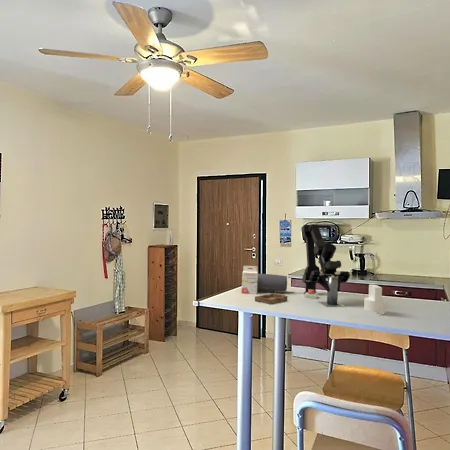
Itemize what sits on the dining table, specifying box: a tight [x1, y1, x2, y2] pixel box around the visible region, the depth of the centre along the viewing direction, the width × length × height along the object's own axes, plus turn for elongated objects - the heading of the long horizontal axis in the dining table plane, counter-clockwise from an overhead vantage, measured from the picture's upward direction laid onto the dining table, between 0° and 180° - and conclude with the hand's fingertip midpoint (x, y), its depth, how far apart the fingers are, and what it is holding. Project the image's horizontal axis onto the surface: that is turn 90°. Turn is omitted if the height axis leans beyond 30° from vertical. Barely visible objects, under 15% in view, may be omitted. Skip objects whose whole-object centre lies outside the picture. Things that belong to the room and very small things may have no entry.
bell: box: [326, 276, 339, 305], centre depth 192 cm, size 5×5×14 cm
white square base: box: [303, 292, 319, 300], centre depth 209 cm, size 6×6×3 cm
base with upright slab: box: [363, 284, 386, 315], centre depth 183 cm, size 9×9×12 cm
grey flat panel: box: [318, 301, 347, 308], centre depth 192 cm, size 12×10×1 cm
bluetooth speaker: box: [257, 273, 288, 294], centre depth 229 cm, size 23×9×10 cm, turn 77°
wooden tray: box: [254, 293, 288, 305], centre depth 202 cm, size 14×10×2 cm
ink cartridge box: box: [241, 265, 259, 295], centre depth 223 cm, size 9×5×15 cm, turn 84°
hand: (333, 291), depth 191 cm, fingers closed on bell, 5 cm apart
